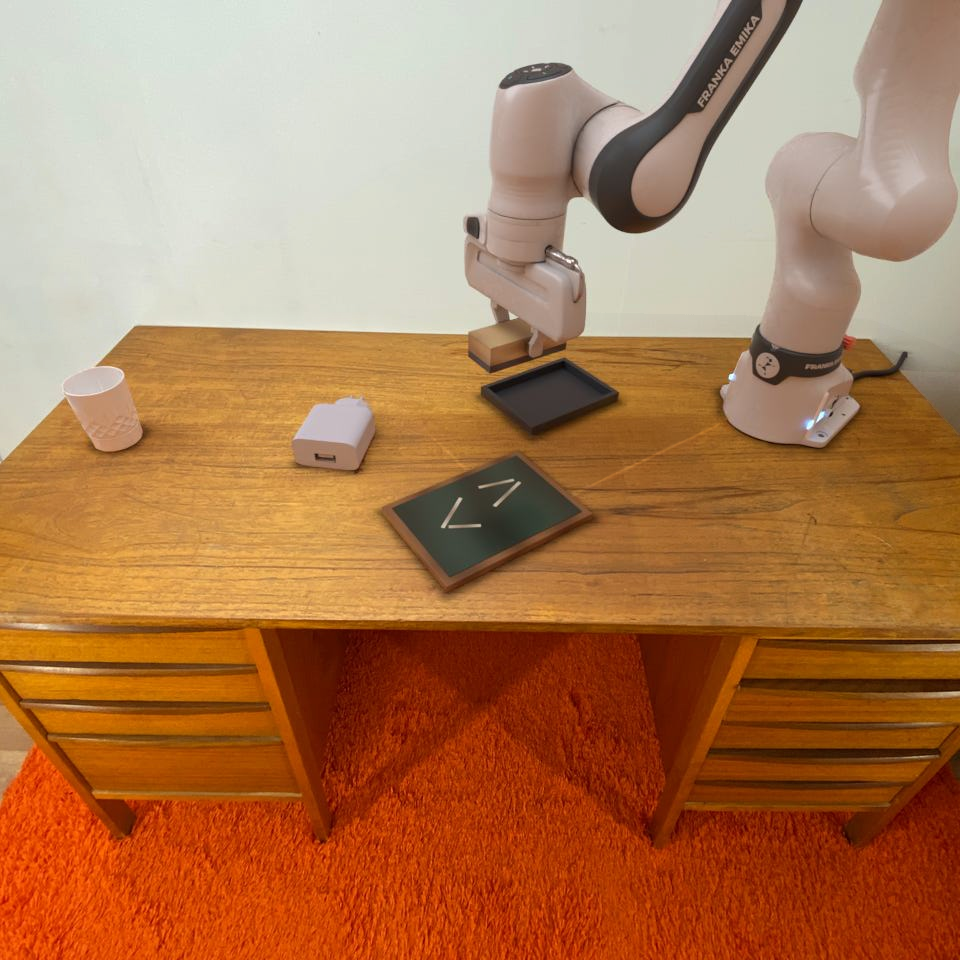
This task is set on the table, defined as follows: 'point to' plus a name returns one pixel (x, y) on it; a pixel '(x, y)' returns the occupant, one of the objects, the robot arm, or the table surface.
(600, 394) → the tray
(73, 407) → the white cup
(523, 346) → the eraser
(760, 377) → the robot arm
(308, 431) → the charger
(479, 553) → the board
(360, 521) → the table surface
